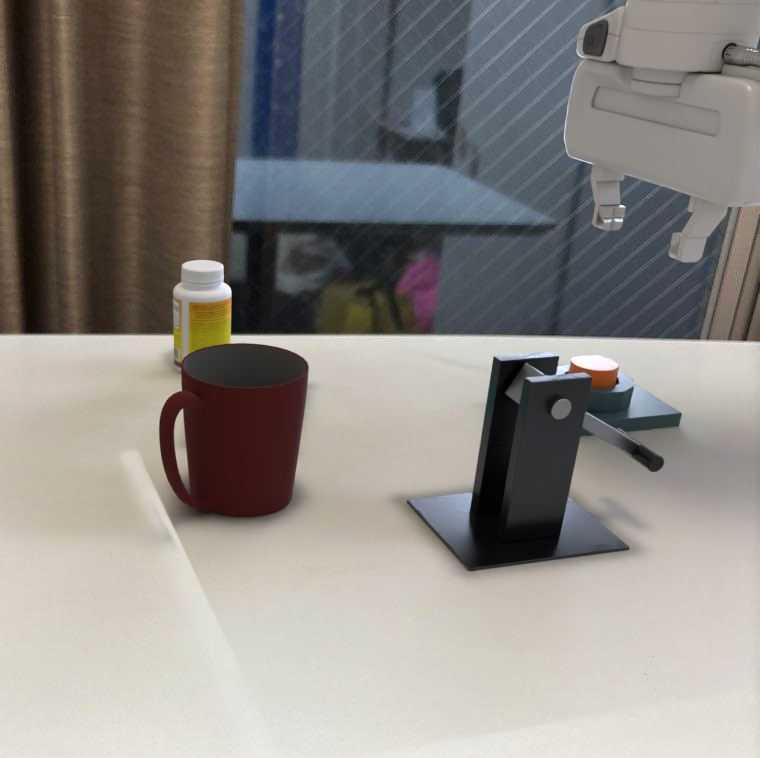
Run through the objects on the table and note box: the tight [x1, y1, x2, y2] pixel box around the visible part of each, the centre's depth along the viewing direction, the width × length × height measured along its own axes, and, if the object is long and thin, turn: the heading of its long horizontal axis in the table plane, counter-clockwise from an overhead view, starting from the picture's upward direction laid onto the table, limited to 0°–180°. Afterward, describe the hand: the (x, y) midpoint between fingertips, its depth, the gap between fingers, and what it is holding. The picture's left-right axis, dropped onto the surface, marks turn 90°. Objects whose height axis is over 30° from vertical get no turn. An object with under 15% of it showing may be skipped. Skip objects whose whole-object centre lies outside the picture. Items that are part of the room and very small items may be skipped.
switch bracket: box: [406, 351, 630, 572], centre depth 71 cm, size 12×10×13 cm
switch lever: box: [505, 363, 665, 473], centre depth 71 cm, size 12×5×2 cm, turn 105°
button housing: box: [556, 364, 683, 437], centre depth 92 cm, size 12×10×4 cm
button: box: [568, 354, 620, 388], centre depth 90 cm, size 4×4×2 cm
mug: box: [158, 342, 310, 519], centre depth 74 cm, size 12×9×11 cm
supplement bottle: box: [172, 259, 233, 373], centre depth 100 cm, size 6×6×10 cm
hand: (643, 243), depth 78 cm, fingers open, 8 cm apart
